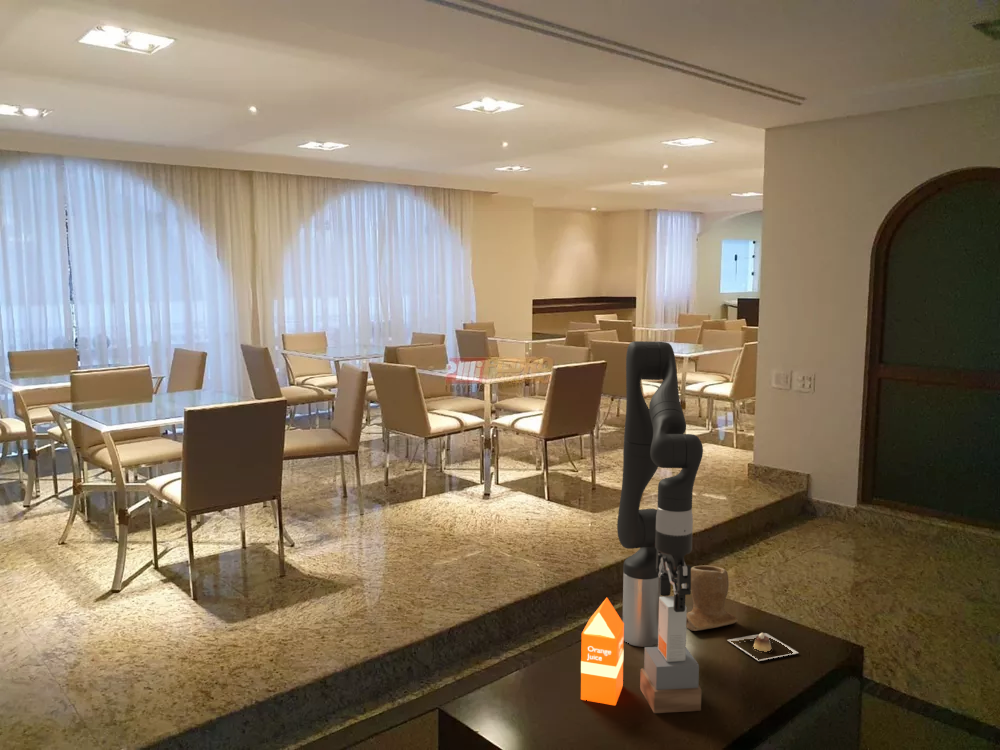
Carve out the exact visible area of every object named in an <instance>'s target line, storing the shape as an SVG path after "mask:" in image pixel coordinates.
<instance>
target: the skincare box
mask: <svg viewBox="0 0 1000 750" xmlns="http://www.w3.org/2000/svg"><path fill="white" fill-rule="evenodd" d="M687 608H688V607H687V605H686V604H685V611H684V612H675V611H674V595H673V596H671V595H669V596H660V597H659V626H658V627H659V628H658V643H657V647H658V650H659V651H660V653H661V654H662V655H663V657H664V658H665V660H666V661H667V662H677V661H685V658H686V648H687V644H686V643H687V627H686V616H687V613H688V612H687V610H688V609H687Z"/></svg>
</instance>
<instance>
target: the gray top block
mask: <svg viewBox="0 0 1000 750" xmlns="http://www.w3.org/2000/svg"><path fill="white" fill-rule="evenodd" d="M643 654H644V655H643V656H644V657H643V659H644V663H643V668H644V670H645V671H646V673H647V675H648V677H649V678H650V680H651V682H652V684H653V685H654V687H655V689H656V690H666V689H688V688H698V685H699V683H700V681H699V679H700V677H699V676H700V673H699V672H700V665H699V663H698V662H697V660H696V659H695V658H694V656H693V655H692V654H691V652H690V651H689V649H688V648H687V647H686V658H685V661H677V662H667V661H666V660H665V658H664V657H663V655H662V654H661V653H660V651H659V650H658V646H648V647H644V653H643Z"/></svg>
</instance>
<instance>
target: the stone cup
mask: <svg viewBox="0 0 1000 750" xmlns="http://www.w3.org/2000/svg"><path fill="white" fill-rule="evenodd" d="M729 582H730V581H729V575H728V571H727V570H726V569H725V568H723V567H719V566H714V565H696V566H692V567H691V597H692V602H693V605H692V606H693V607H692V609H691V610H690V611H688V612H687V616H686V629H689V631H692V632H693V631H694V632H696V631H697V632H698V631H705V630H710V629H716V628H720V627H726V626H728V625H732V624H735V623H738V618H736V616H734V615H733V614H731V613H730V612H728V611H726V610H725V603H726V599H727V596H728V592H729V587H730V586H729V584H730V583H729Z"/></svg>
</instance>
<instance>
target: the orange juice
mask: <svg viewBox="0 0 1000 750" xmlns="http://www.w3.org/2000/svg"><path fill="white" fill-rule="evenodd" d="M624 642H625V641H624V623H623V619H622V618H621V617H620V616H619V614H618V612H617V611H616V609H615V607H614V606H613V604H612V603H611V601H610V600H609V598H608V597H606V598H605V599H604V600H603V601H602V603H601V604H600V605H599V607H598V608H597V609H596V611H594V613H593V614H592V615H591V617H590V618H589V619H588V621H587V623H586V625H585V626H584V629H583V631H582V632H581V647H580V648H581V651H580V652H581V657H580V700H582V701H586V700H587V702H593V703H598V704H599V703H600V704H605V705H610V706H616V705H617V702H618V701H619V697H620V695H621V692H622V689H623V686H624V685H623V684H624V681H623V680H624V654H625V653H624Z"/></svg>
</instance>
